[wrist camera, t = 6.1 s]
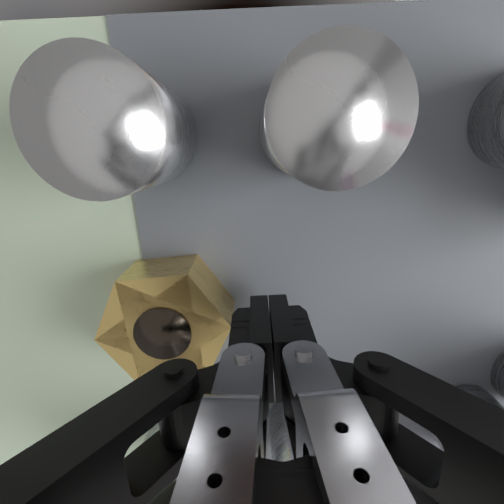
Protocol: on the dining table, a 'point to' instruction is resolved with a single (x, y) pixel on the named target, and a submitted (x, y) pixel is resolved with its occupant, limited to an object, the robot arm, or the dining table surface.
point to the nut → (165, 314)
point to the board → (261, 208)
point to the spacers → (270, 128)
